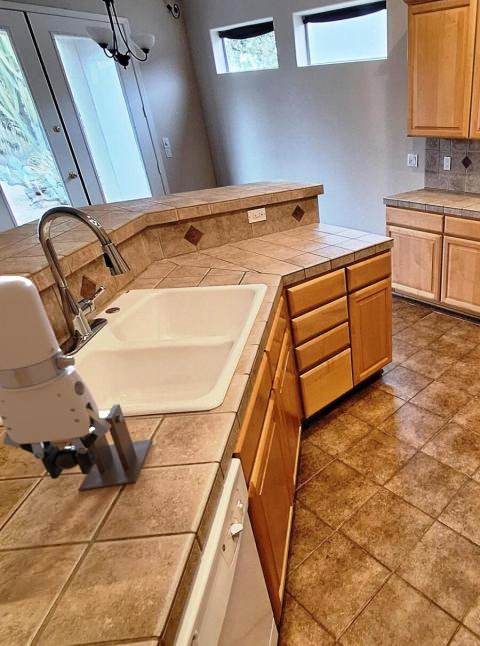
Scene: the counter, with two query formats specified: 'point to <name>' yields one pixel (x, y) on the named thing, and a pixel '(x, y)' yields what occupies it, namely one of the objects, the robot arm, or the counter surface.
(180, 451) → the counter surface
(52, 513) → the counter surface
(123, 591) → the counter surface
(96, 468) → the bracket
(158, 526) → the counter surface
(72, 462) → the tap lever
